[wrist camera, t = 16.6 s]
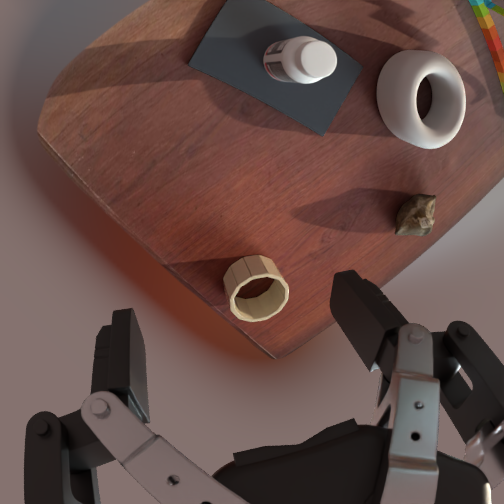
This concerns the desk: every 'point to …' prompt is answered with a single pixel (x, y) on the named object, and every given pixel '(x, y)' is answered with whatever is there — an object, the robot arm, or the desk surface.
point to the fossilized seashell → (416, 216)
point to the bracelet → (262, 304)
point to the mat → (252, 66)
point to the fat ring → (405, 91)
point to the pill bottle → (300, 60)
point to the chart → (490, 33)
